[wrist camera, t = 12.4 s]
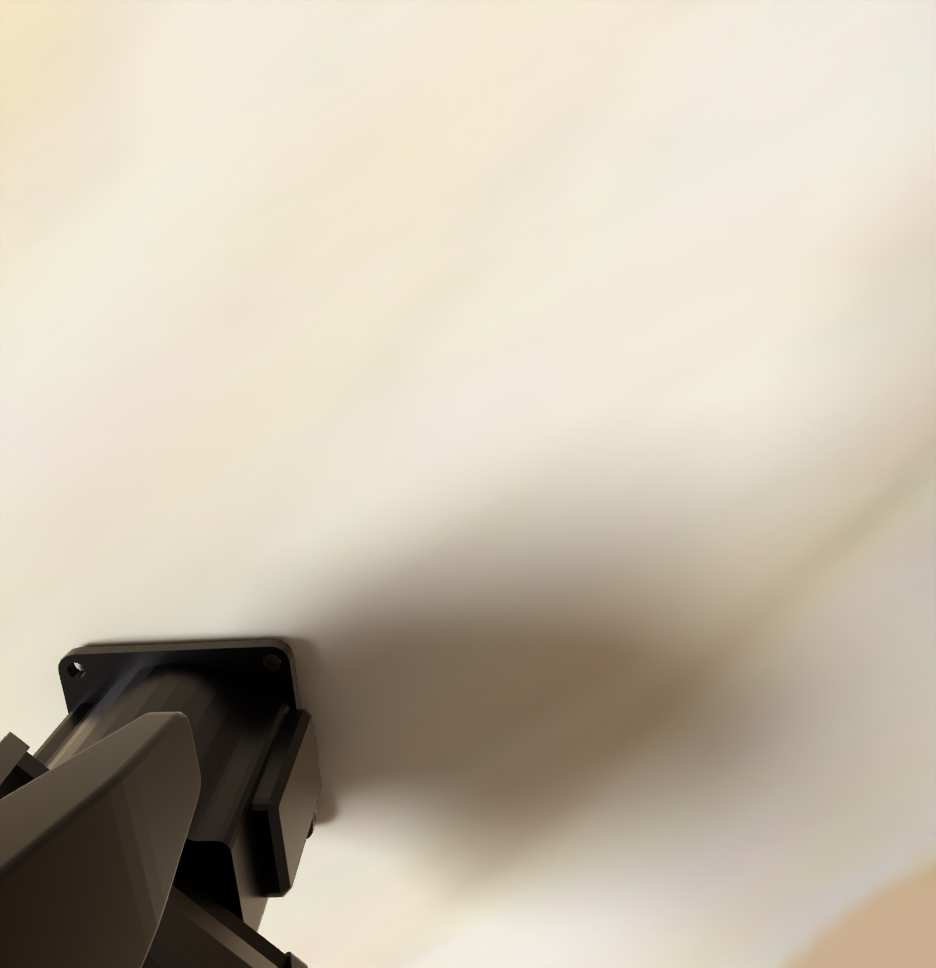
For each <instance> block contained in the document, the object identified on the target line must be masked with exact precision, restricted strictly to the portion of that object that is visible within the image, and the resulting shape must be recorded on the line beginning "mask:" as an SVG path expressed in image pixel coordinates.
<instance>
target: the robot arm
mask: <svg viewBox="0 0 936 968" xmlns="http://www.w3.org/2000/svg"><path fill="white" fill-rule="evenodd" d="M270 654H272V655H276V656H277V657H279V658H280V661H281V662H280V663H277V664H276V663H272V662H270V661H269V660H268V658H267V656H266V655H270ZM74 662H75V663H79V664H81V665H82V666H83V667H84V669H85V671H80V670H79V669H77V668H76V667H75V665H74ZM58 669H59V675H60V680H61V684H62V688H63V692H64V696H65V701H66V705H67V709H68V713H69V714H68V715H67V717H66V718H65V719H64V720H63V721H62V722H61V724H60V725H59V726H58V727H57V728H56V729H55V731H54V732H53V733H52V734H51V735H50V736H49V738H48V739H47V740H46V741H45V742H44V743H43V745H42V746H41V747H40V748H39V749H38V751H37V752H36V753H35V754H34V755H33V756H32V755H30V754H29V753H28V752H27V750H28V749H29V748H30V747H29V746H28V745H27V744H25V743H24V742H23V741H22V740H20V739H19V738H18V737H16V736H15V735H14V734H13V733H11V732H9V733H8V734H7V735H6V736H5V737H4V738H3V739H2V740H1V741H0V968H308V967H307V965H306V964H305V963H304V962H302V961H301V960H300V959H299V958H297V957H296V956H295V955H294V954H292V953H291V952H287V953H285V954H284V953H283V952H281V951H280V950H279V949H278V948H276V947H275V946H274V945H273V944H271V943H270V942H269V941H267V940H266V939H265V938H264V937H262V936H261V935H260V934H259V933H257V931H258V928H259V925H260V922H261V919H262V916H263V913H264V910H265V907H266V904H267V901H268V898H269V897H284V896H285V895H286V894H287V892H288V891H289V890H290V889H291V888H292V886H293V882H294V879H295V875H296V872H297V869H298V865H299V862H300V859H301V855H302V852H303V848H304V845H305V842H306V839H308V838H309V837H310V836H311V834H312V833H313V830H314V826H315V822H316V815H315V808H316V805H317V801H318V798H319V794H320V791H321V778H320V770H319V763H318V755H317V748H316V741H315V733H314V726H313V718H312V716H311V715H310V714H309V712H308V711H307V710H306V709H301V707H300V700H299V693H298V686H297V679H296V671H295V664H294V657H293V653H292V650H291V648H290V647H289V646H288V645H287V644H286V643H284V642H283V641H281V640H275V639H269V640H245V641H221V642H197V643H174V644H150V645H126V646H102V647H79V648H75V649H72V650H71V651H70V652H68V653H67V654H66V655H65V656H64V657H63V658H62V659H61V661H60V663H59V665H58Z"/></svg>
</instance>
